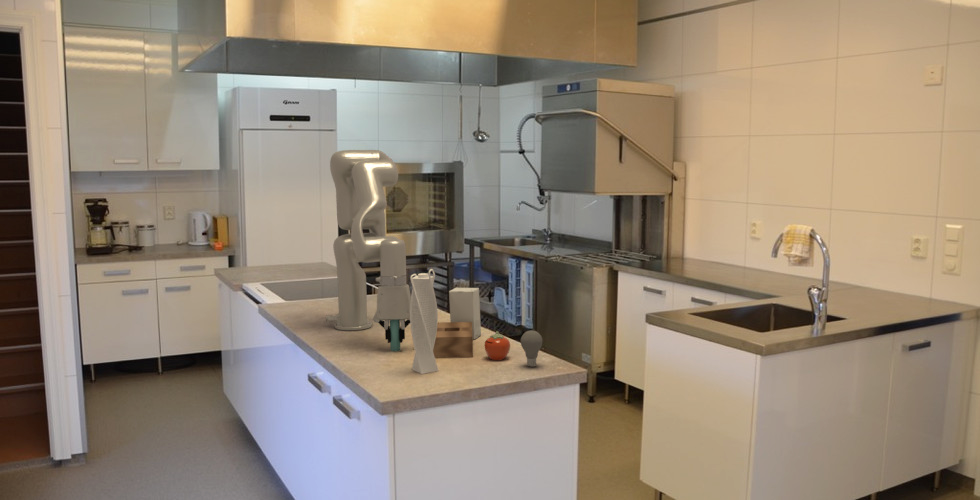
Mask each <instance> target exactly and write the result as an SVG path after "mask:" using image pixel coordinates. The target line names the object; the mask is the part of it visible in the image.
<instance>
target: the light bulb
mask: <svg viewBox="0 0 980 500" xmlns="http://www.w3.org/2000/svg"><path fill="white" fill-rule="evenodd" d="M520 345H521V348H522V349H523V351H524V352H525V357H526V365H527V367H530V368H532V367H535V366H537V358H538V355H539V352H540V350H541V348H542V346H543V337H542V335H541V333H539V332H538V331H536V330H533V329H532V330H527V331H525V332H524V333H523V334H522V336H521V337H520Z"/></svg>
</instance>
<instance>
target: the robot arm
mask: <svg viewBox="0 0 980 500" xmlns="http://www.w3.org/2000/svg"><path fill="white" fill-rule="evenodd" d="M329 170H330V174H331V177H332V178H331V179H332V180H333V183H334V187H335V200H336V201H335V202H336V217H337V218H336V220H337V224H338V227H339V229H341V230H344V231H350V233H348V234H347V233H345V234H342V235H339V236H337V237H336V238H335V239H334V241H333V253H334V259H335V264H336V265H335V267H336V275H337V277H336V278H337V297H338V298H337V300H338V304H337V305H338V313H337V314H335V315H329V314H328V315H326V316H325V321H326V322H329V323H330V322H331V323H332V322H335V323H334V328H335V329H336V330H339V331H362V330H366V329H369V328H372V326H373V322H374V323H377V324H379V325H380V326H381V327H382V328H383V329H384V334H385V336H384V337H385V338H384V339H385V340H386V341H387V344H390V320H400V330H399V336H400V344H402V343H403V341H404V340H405V339H406V333H405V332H406V331H405V330H406V328H407V327H408V326H409V325H410V302H411V289H410V285H409V284H407V257H406V256H407V255H406V253H407V251H406V250H407V249H406V243H405V241H404V240H403V239H399V238H398V237H396V236H393V235H388V236H387V235H386V214H385V210H386V208H387V205H388V201H387V199H386V194H385V191H384V187H394V186H395V185H396V184H397V183H398V180H399V171H398V167H397V165H396V163H395V162H394V161H393V160H392V158H390V156H389V155H387V154H386V153H384V152H383V151H382V150H379V149H346V150H345V149H344V150H339V151H336V152H334V153H333V154H332V155H331V156H330V160H329ZM363 230H369V232H363ZM375 262H376V263H377V262H380V264H379V265H380V269H379V270H380V275H379V276H377V277H375V282H376V283H379V285H378V287H377V294H376V312H375V313H374V315H373V317H372V321H373V322H372V321H370V320H368V299H367V298H368V297H367V275H366V272H365V271H364V269H363V268H362V267H361V266H360V264H359V263H375Z"/></svg>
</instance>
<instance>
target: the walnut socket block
mask: <svg viewBox="0 0 980 500" xmlns="http://www.w3.org/2000/svg"><path fill="white" fill-rule="evenodd" d="M473 340H474V339H473V335H472V322H451V321H448V322H445V321H444V322H442V321H441V322H440V321H439V322H437V332H436V339H435V344H434V348H433V353H434V357H435V359H444V358H445V359H446V358H447V359H451V358H453V359H454V358H473V357H474V349H473V346H474V343H473Z"/></svg>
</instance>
